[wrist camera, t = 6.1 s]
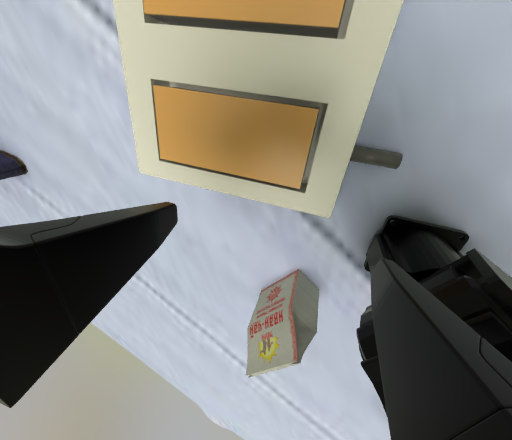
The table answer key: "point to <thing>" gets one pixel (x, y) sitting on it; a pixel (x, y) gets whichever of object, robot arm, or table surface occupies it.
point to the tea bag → (282, 324)
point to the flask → (10, 166)
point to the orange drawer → (253, 15)
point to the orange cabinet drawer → (235, 134)
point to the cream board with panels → (262, 91)
